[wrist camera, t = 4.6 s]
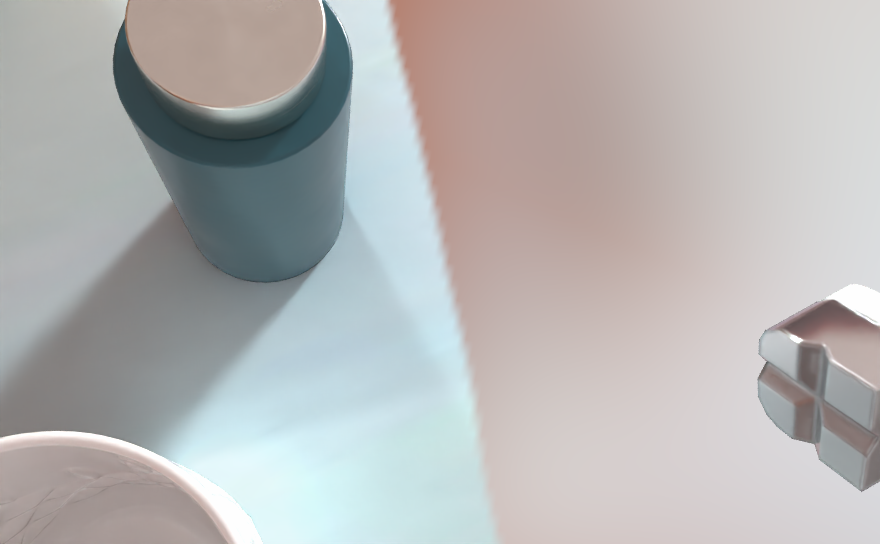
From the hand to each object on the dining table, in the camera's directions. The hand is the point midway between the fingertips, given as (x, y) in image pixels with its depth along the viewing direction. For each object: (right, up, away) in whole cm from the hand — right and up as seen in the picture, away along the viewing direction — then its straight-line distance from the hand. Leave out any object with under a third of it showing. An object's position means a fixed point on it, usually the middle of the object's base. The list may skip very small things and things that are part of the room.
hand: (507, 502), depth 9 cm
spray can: (-7, +5, +16) cm, 18 cm away
